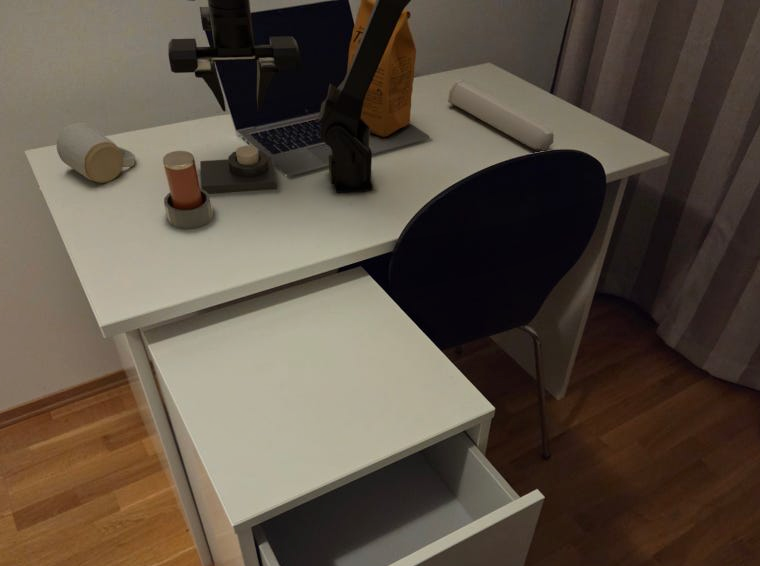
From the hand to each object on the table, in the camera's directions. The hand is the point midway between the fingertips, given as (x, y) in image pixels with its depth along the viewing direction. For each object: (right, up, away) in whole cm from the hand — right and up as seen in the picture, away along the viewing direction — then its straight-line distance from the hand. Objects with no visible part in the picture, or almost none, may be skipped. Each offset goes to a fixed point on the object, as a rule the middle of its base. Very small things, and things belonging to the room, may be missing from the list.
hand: (241, 109), depth 101 cm
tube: (+45, +7, +27) cm, 53 cm away
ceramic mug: (-25, -8, +7) cm, 27 cm away
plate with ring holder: (-2, -9, +8) cm, 12 cm away
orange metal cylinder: (-8, -17, -1) cm, 19 cm away
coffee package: (+21, +7, +25) cm, 33 cm away
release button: (-1, -6, +7) cm, 9 cm away
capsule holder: (-8, -17, 0) cm, 19 cm away
